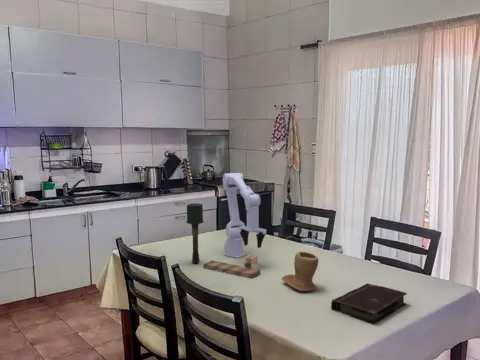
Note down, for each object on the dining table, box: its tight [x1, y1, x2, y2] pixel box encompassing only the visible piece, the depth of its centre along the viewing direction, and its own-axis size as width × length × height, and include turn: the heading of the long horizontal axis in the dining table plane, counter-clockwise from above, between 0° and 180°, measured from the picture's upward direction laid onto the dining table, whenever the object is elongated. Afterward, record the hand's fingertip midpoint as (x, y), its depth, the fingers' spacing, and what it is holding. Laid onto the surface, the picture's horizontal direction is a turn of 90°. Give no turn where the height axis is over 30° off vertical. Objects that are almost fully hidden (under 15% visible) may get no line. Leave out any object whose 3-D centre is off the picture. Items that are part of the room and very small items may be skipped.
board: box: [202, 260, 261, 279], centre depth 207 cm, size 28×7×2 cm, turn 57°
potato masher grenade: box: [186, 202, 205, 264], centre depth 218 cm, size 8×9×30 cm
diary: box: [330, 282, 408, 325], centre depth 165 cm, size 19×25×5 cm
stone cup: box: [281, 251, 319, 292], centre depth 186 cm, size 15×12×15 cm
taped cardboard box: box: [244, 254, 258, 270], centre depth 208 cm, size 4×5×6 cm
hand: (252, 246), depth 213 cm, fingers open, 7 cm apart
